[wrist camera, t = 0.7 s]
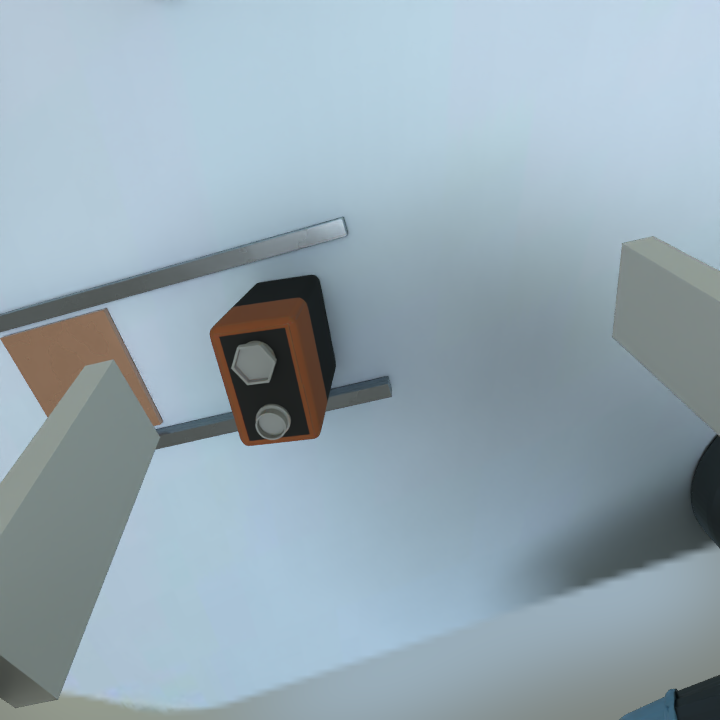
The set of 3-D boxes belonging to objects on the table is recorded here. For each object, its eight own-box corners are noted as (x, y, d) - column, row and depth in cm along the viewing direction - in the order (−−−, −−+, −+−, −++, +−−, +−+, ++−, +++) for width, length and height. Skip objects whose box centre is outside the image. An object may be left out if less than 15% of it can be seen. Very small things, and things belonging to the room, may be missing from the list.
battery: (319, 272, 30) (290, 322, 21) (337, 368, 33) (320, 451, 24) (253, 281, 31) (197, 335, 21) (276, 376, 33) (235, 460, 24)
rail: (391, 388, 33) (391, 396, 32) (44, 467, 37) (34, 476, 36) (343, 216, 29) (341, 218, 28) (-45, 326, 33) (-60, 332, 32)
